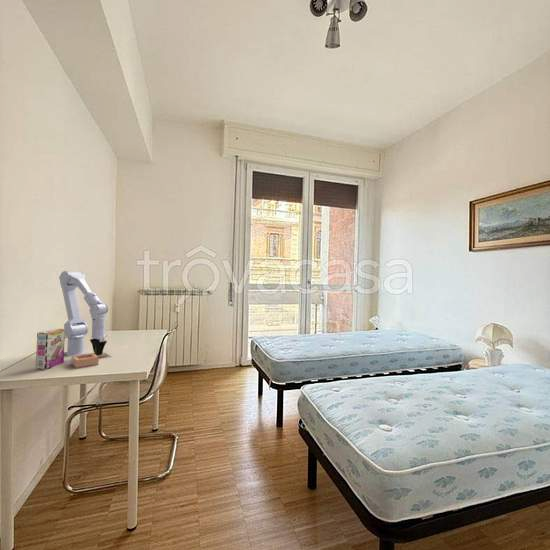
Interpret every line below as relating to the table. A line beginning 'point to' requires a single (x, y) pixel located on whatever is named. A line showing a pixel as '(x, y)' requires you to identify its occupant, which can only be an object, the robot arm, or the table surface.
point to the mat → (106, 356)
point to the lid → (101, 355)
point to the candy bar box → (50, 348)
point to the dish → (85, 360)
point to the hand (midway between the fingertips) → (97, 353)
